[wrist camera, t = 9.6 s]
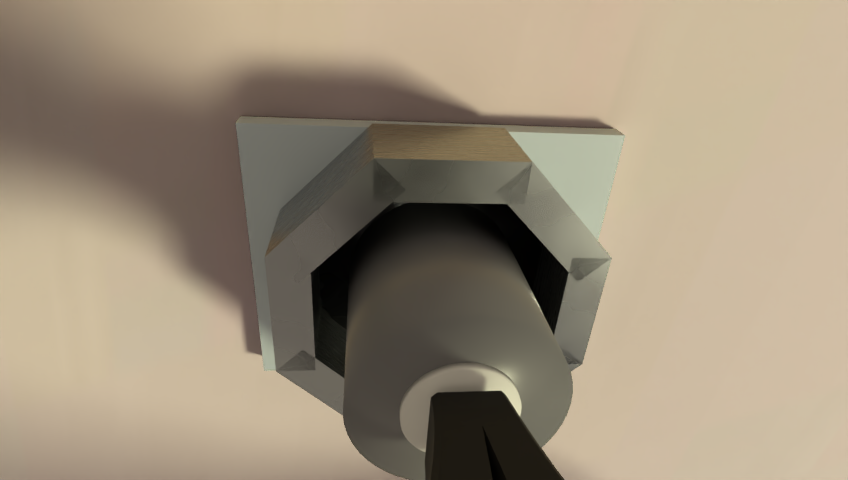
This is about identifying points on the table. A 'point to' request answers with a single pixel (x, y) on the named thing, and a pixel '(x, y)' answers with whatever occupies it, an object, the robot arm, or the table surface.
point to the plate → (326, 138)
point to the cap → (442, 332)
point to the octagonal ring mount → (420, 183)
